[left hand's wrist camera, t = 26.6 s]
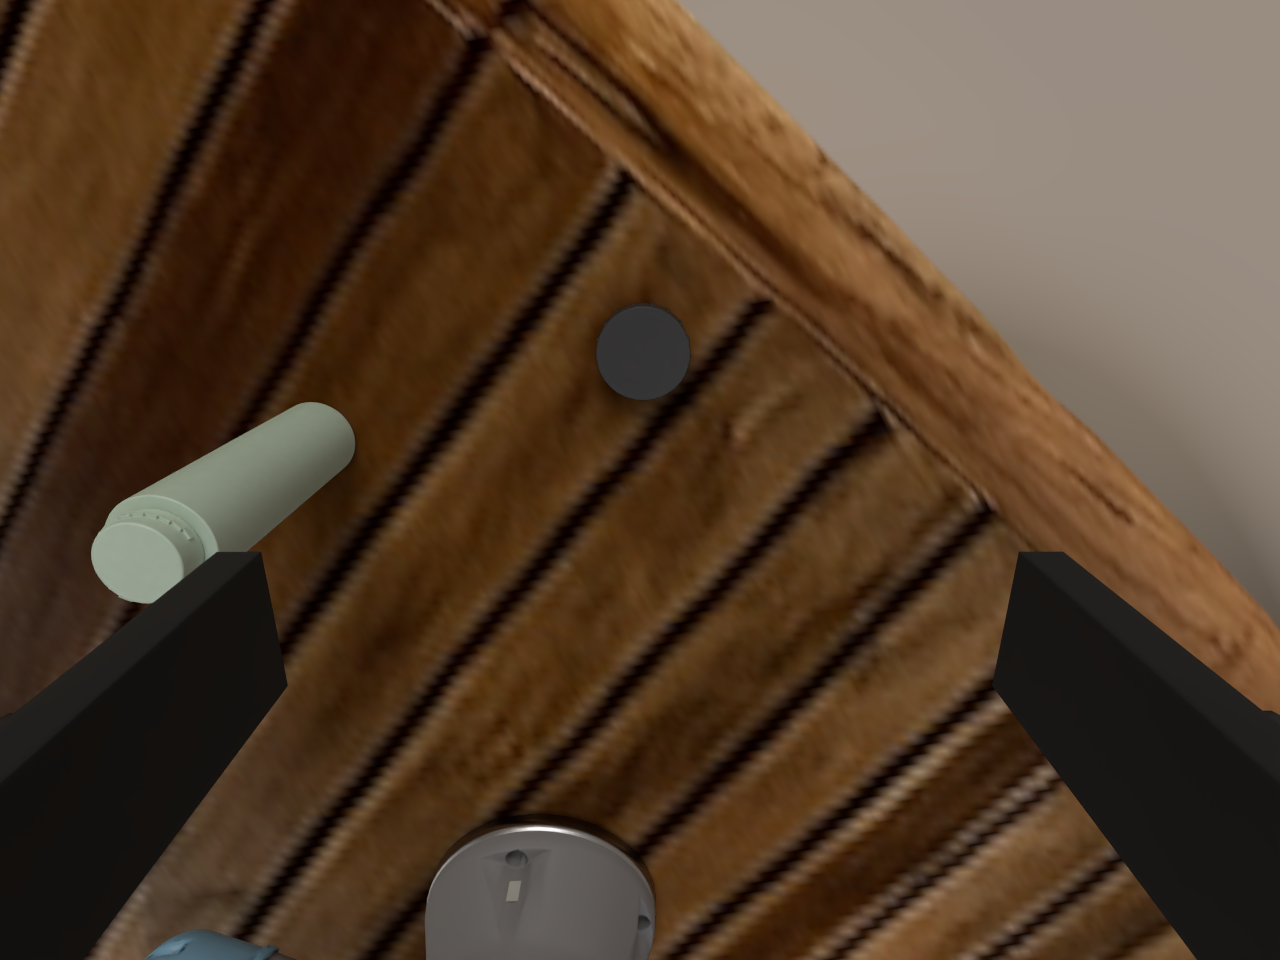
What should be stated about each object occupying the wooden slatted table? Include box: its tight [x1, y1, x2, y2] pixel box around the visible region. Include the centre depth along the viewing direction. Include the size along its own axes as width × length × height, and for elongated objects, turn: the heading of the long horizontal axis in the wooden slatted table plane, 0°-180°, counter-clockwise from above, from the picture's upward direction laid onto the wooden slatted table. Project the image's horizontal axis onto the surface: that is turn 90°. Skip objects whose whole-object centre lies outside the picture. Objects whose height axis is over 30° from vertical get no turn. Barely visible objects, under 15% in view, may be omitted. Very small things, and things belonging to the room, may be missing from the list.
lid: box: [595, 302, 691, 400], centre depth 36 cm, size 5×5×2 cm
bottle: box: [91, 402, 355, 603], centre depth 31 cm, size 4×4×15 cm
